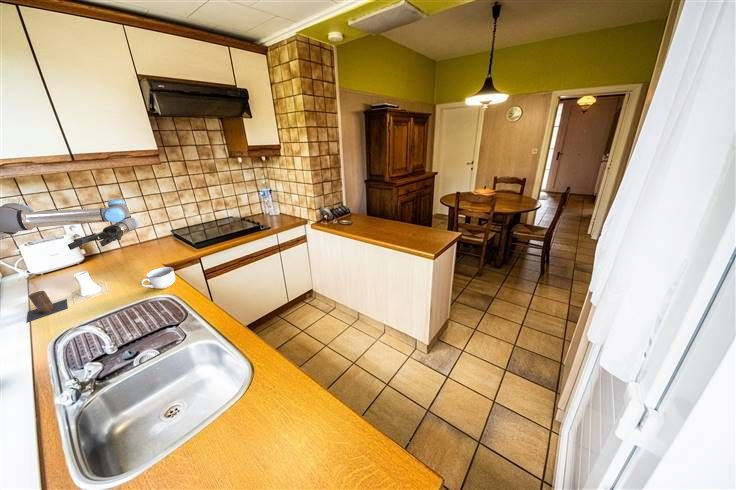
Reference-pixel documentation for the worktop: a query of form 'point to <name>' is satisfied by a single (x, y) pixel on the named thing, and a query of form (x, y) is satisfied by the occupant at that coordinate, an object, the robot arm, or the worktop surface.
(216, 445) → the worktop surface
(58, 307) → the slate mat
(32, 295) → the pepper shaker
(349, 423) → the worktop surface
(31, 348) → the worktop surface
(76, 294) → the cream mat
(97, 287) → the vase
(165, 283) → the teacup
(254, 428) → the worktop surface
